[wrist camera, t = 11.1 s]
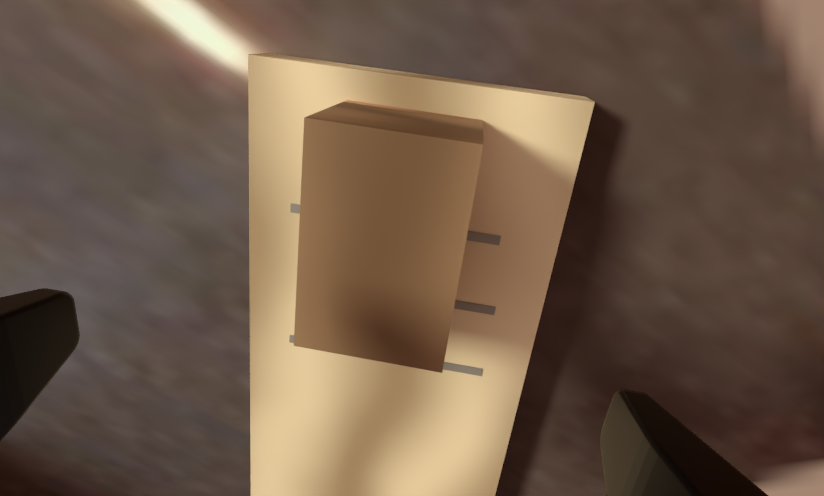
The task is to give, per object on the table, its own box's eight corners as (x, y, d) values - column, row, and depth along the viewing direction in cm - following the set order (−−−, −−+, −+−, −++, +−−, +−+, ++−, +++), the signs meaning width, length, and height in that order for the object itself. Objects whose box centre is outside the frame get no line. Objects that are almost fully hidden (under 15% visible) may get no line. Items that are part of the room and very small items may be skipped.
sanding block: (333, 281, 17) (293, 345, 14) (347, 100, 15) (304, 117, 11) (450, 301, 17) (441, 372, 13) (482, 119, 15) (483, 144, 11)
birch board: (264, 471, 23) (250, 500, 22) (268, 53, 16) (247, 54, 15) (482, 514, 23) (482, 546, 21) (584, 96, 16) (595, 102, 14)
